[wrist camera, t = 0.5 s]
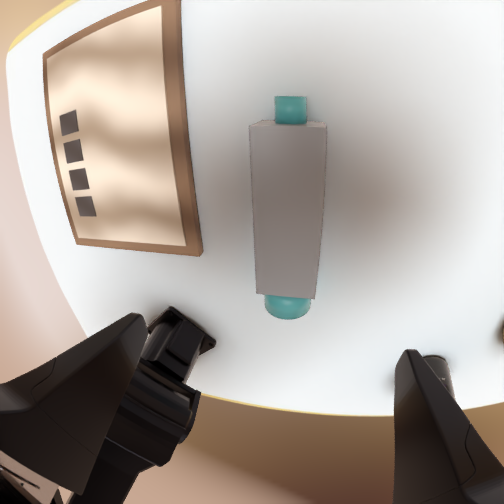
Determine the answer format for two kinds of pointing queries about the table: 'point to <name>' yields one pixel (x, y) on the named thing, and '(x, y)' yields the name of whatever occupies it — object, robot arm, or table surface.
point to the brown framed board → (124, 132)
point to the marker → (287, 205)
